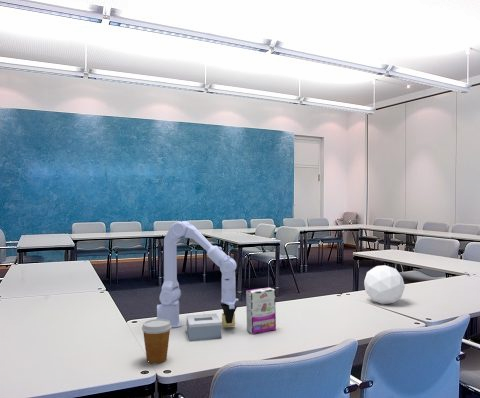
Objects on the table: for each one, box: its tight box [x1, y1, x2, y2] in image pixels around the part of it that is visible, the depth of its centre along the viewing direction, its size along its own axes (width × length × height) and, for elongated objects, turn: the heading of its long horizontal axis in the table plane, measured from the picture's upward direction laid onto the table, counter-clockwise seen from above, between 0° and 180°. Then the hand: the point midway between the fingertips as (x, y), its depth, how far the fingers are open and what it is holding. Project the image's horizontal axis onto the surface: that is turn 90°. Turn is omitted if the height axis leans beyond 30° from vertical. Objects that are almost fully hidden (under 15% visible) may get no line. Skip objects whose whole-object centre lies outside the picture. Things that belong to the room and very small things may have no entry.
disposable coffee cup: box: [141, 318, 173, 364], centre depth 125 cm, size 10×10×12 cm
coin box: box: [186, 313, 222, 342], centre depth 149 cm, size 12×12×6 cm
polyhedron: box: [363, 264, 406, 305], centre depth 196 cm, size 19×20×20 cm
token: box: [221, 312, 236, 328], centre depth 157 cm, size 5×2×5 cm, turn 103°
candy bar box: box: [245, 287, 277, 335], centre depth 154 cm, size 11×5×16 cm, turn 117°
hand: (228, 322), depth 157 cm, fingers closed on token, 2 cm apart
